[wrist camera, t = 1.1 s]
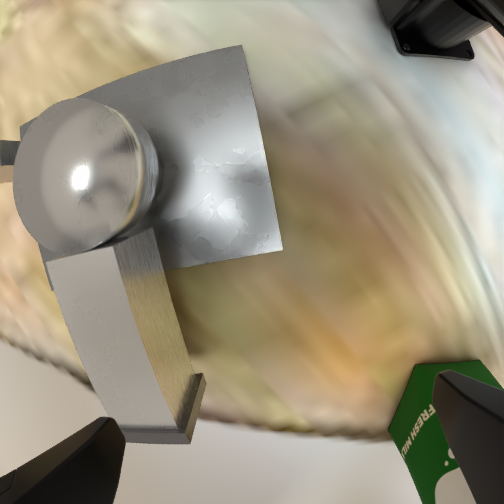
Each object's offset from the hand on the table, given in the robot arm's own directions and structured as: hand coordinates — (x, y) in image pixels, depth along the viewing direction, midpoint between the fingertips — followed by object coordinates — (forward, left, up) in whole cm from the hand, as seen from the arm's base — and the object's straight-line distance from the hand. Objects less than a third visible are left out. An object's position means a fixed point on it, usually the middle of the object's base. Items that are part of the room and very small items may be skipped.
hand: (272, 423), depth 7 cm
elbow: (+7, -3, -9) cm, 12 cm away
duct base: (+7, -8, -12) cm, 16 cm away
